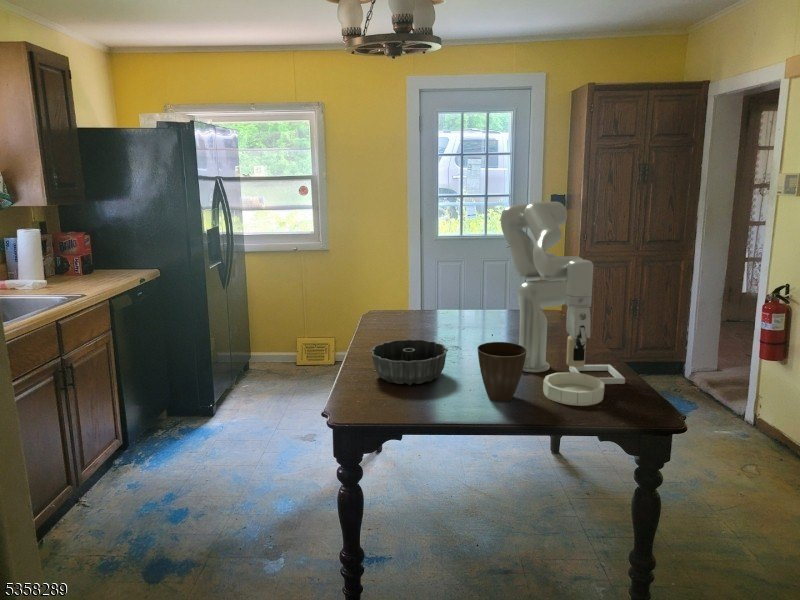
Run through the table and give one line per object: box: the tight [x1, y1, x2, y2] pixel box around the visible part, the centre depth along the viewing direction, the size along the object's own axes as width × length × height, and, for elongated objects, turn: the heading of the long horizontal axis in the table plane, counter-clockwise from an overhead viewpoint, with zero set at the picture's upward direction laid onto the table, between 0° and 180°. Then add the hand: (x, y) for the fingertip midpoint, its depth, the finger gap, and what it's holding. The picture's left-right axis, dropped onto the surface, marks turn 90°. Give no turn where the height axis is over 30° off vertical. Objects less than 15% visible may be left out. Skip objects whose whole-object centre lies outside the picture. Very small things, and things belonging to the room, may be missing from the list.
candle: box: [566, 335, 587, 367], centre depth 181 cm, size 6×6×10 cm
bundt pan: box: [369, 338, 449, 386], centre depth 201 cm, size 26×26×10 cm
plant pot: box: [477, 341, 527, 403], centre depth 180 cm, size 15×15×16 cm
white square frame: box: [568, 364, 626, 385], centre depth 200 cm, size 14×14×2 cm
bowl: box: [542, 371, 606, 407], centre depth 184 cm, size 18×18×4 cm
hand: (575, 356), depth 181 cm, fingers closed on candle, 5 cm apart
